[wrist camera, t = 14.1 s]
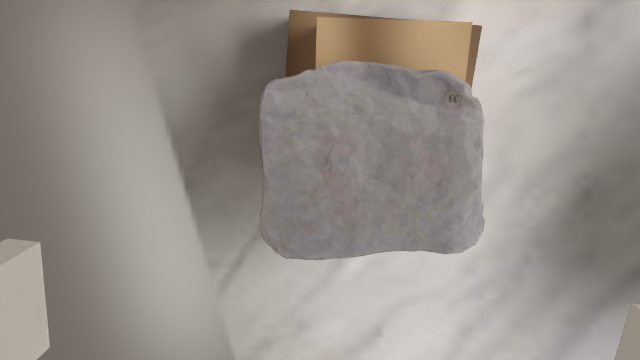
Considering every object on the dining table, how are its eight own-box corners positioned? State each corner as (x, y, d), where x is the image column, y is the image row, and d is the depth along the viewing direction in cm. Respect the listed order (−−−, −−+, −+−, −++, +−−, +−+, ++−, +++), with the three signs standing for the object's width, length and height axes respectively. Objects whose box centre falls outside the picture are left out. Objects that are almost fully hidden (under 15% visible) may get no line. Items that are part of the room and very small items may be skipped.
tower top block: (449, 29, 27) (472, 22, 23) (433, 183, 30) (450, 206, 25) (321, 24, 28) (317, 16, 23) (316, 177, 30) (311, 199, 26)
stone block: (257, 80, 26) (270, 249, 26) (239, 63, 21) (256, 271, 21) (463, 64, 25) (471, 237, 26) (493, 44, 20) (503, 256, 21)
